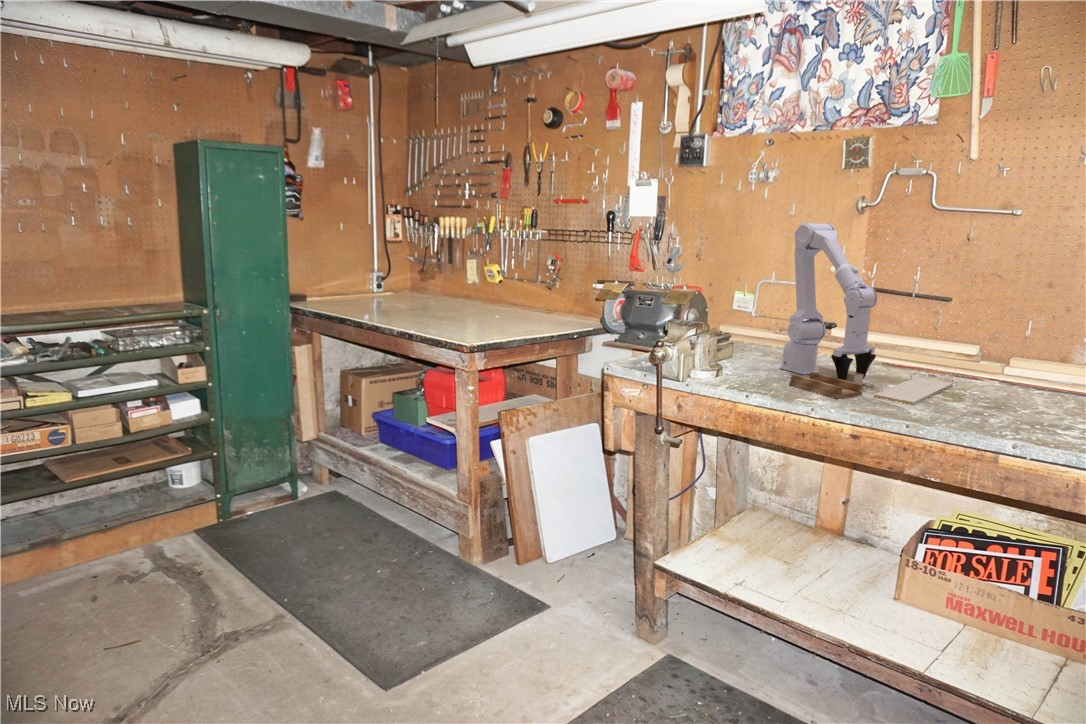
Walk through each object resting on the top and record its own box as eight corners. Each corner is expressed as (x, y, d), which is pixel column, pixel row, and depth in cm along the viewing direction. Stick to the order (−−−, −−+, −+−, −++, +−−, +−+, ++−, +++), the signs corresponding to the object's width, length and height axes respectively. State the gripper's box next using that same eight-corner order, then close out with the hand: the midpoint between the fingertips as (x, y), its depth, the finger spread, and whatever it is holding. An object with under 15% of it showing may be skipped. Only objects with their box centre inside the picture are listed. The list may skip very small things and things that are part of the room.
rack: (788, 385, 191) (790, 374, 190) (812, 381, 195) (813, 371, 195) (837, 399, 177) (838, 388, 177) (861, 395, 182) (862, 384, 181)
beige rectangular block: (817, 379, 199) (819, 366, 198) (826, 378, 201) (828, 365, 200) (852, 389, 189) (854, 375, 188) (861, 388, 191) (863, 374, 190)
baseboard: (864, 397, 182) (912, 407, 173) (865, 387, 181) (914, 396, 173) (907, 380, 203) (952, 388, 194) (908, 370, 202) (953, 378, 194)
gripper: (851, 335, 182) (845, 385, 185) (886, 332, 189) (880, 380, 191) (829, 331, 188) (823, 379, 191) (864, 328, 195) (858, 375, 197)
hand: (850, 379), depth 191 cm, fingers open, 7 cm apart
